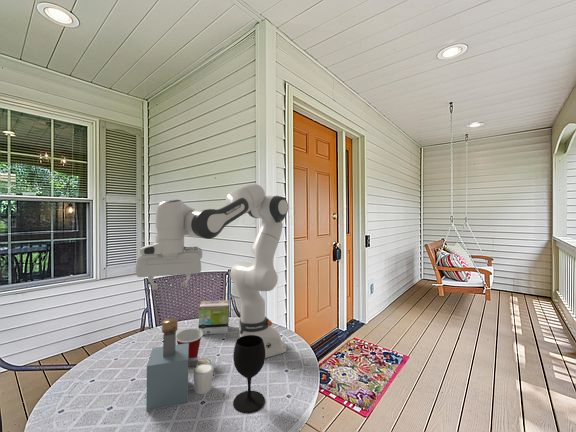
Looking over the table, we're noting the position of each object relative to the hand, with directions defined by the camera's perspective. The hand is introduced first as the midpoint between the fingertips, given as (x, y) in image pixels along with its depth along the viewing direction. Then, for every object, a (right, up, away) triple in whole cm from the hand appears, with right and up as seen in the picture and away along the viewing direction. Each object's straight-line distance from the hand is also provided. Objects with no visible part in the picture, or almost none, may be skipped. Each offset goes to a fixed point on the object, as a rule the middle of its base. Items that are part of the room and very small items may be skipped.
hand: (170, 288), depth 90 cm
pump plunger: (0, -22, 0) cm, 22 cm away
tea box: (+1, -37, +51) cm, 63 cm away
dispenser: (+1, -36, 0) cm, 36 cm away
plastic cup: (-1, -37, +20) cm, 42 cm away
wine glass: (+27, -37, -3) cm, 46 cm away
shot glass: (+10, -37, +4) cm, 38 cm away
